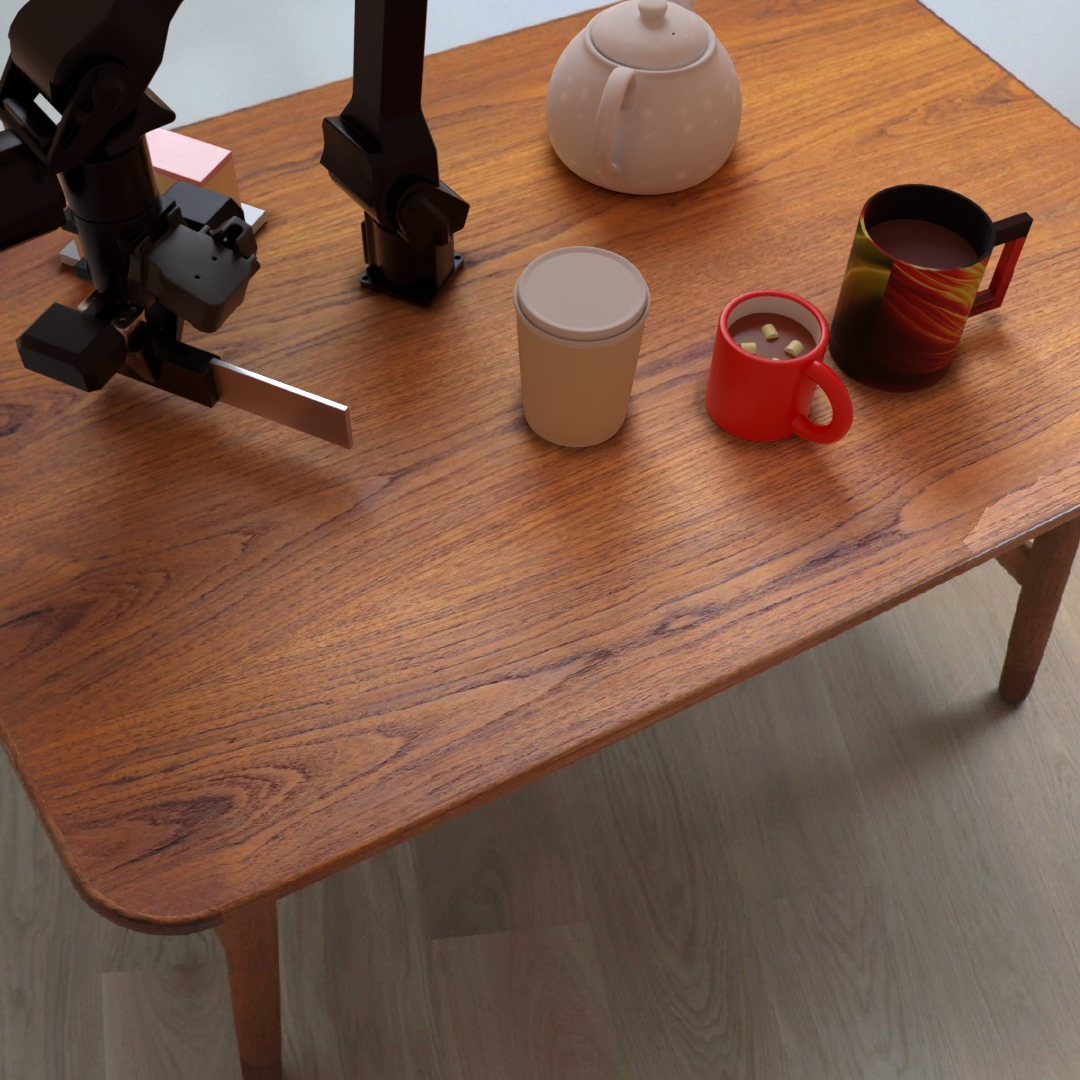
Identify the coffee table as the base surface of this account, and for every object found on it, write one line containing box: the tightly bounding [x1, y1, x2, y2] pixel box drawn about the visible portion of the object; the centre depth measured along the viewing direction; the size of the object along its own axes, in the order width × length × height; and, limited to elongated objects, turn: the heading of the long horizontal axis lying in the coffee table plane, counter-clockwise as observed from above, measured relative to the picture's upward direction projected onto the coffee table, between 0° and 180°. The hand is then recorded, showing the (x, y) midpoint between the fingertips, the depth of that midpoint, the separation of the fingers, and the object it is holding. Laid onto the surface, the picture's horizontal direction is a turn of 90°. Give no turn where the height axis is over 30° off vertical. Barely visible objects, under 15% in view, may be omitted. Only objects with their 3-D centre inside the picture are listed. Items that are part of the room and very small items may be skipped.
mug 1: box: [704, 289, 854, 446], centre depth 99 cm, size 8×12×8 cm, turn 43°
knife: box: [116, 334, 355, 451], centre depth 98 cm, size 21×2×4 cm, turn 65°
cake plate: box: [58, 127, 268, 268], centre depth 110 cm, size 12×12×7 cm
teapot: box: [545, 0, 743, 196], centre depth 116 cm, size 19×18×14 cm
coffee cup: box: [513, 245, 651, 448], centre depth 97 cm, size 9×9×12 cm
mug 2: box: [827, 183, 1034, 393], centre depth 103 cm, size 10×14×12 cm
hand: (161, 368), depth 100 cm, fingers closed on knife, 2 cm apart
